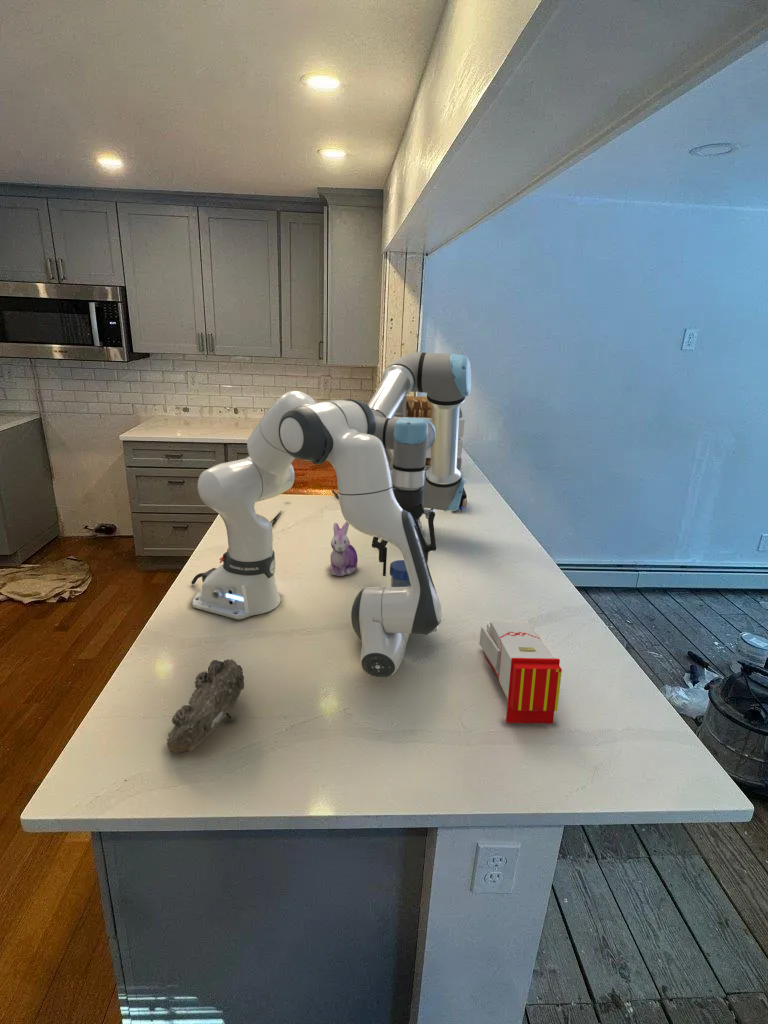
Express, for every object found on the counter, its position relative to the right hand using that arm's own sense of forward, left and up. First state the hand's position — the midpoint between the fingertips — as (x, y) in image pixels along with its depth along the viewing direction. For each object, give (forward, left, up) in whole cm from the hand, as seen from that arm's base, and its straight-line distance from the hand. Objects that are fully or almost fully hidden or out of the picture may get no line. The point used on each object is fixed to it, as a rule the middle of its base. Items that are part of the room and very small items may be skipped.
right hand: (402, 574), depth 139 cm
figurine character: (-52, +79, -14) cm, 95 cm away
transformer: (-97, +101, -14) cm, 141 cm away
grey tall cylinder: (0, 0, -14) cm, 14 cm away
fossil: (+4, -52, -14) cm, 54 cm away
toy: (+33, +4, -14) cm, 35 cm away
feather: (-84, +16, -14) cm, 87 cm away
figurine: (-32, +7, -14) cm, 36 cm away
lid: (0, 0, +2) cm, 2 cm away
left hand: (-1, +1, -7) cm, 7 cm away
